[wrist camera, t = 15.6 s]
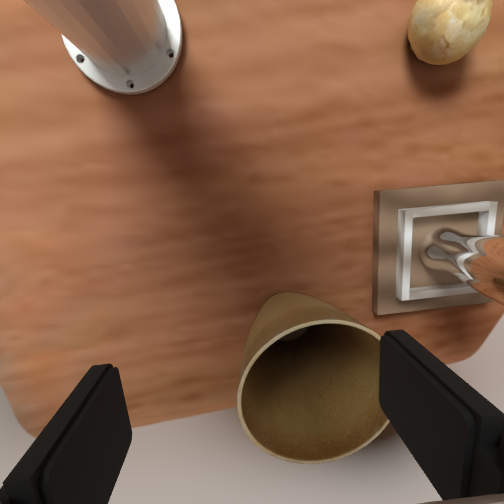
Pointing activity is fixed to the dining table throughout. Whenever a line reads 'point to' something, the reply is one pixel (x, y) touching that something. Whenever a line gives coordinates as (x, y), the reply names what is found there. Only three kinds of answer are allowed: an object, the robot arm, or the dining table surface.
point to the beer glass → (467, 259)
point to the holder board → (412, 234)
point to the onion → (447, 28)
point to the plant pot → (309, 381)
